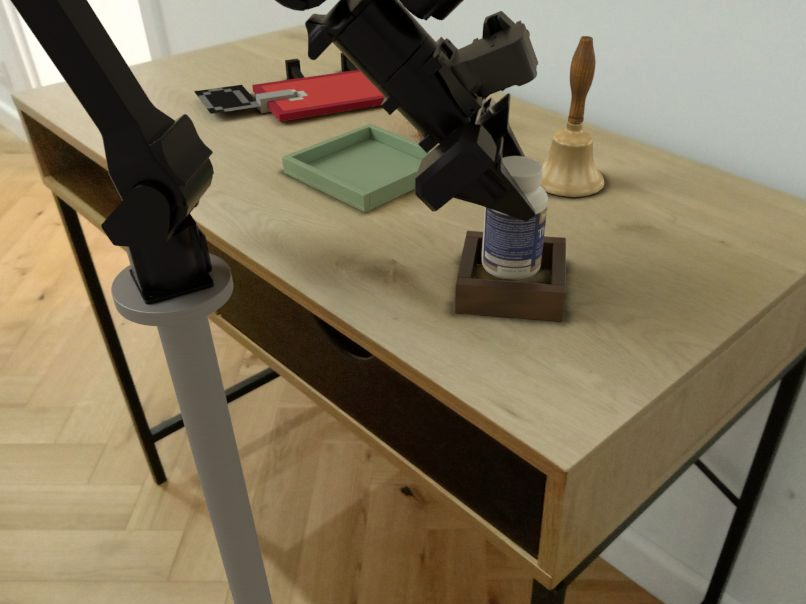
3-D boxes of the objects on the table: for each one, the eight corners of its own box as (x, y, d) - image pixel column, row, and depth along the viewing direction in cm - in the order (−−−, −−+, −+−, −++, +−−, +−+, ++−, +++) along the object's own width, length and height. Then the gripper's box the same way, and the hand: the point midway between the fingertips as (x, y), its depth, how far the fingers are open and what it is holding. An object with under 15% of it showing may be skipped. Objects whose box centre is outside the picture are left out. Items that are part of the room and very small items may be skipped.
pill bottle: (546, 280, 69) (558, 179, 63) (486, 283, 68) (492, 181, 62) (533, 248, 73) (543, 150, 67) (477, 251, 72) (482, 152, 66)
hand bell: (585, 161, 94) (603, 23, 84) (616, 192, 87) (639, 46, 77) (521, 169, 91) (531, 28, 82) (548, 202, 85) (562, 53, 75)
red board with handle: (191, 93, 107) (222, 134, 97) (187, 72, 105) (218, 112, 95) (390, 65, 119) (435, 99, 109) (389, 46, 117) (435, 79, 108)
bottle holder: (454, 313, 69) (455, 284, 67) (466, 257, 76) (466, 230, 74) (562, 321, 68) (565, 293, 66) (562, 264, 75) (566, 237, 73)
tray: (364, 212, 82) (363, 195, 81) (283, 173, 89) (281, 156, 88) (451, 171, 91) (451, 155, 89) (370, 138, 97) (370, 123, 96)
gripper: (464, 23, 49) (615, 196, 55) (489, -43, 63) (606, 100, 70) (348, 134, 54) (497, 280, 60) (396, 49, 69) (511, 174, 75)
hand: (532, 201), depth 66 cm, fingers closed on pill bottle, 5 cm apart
